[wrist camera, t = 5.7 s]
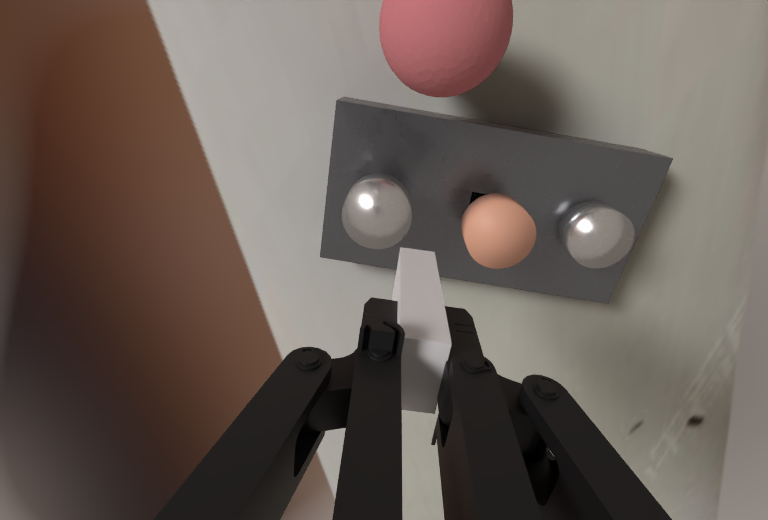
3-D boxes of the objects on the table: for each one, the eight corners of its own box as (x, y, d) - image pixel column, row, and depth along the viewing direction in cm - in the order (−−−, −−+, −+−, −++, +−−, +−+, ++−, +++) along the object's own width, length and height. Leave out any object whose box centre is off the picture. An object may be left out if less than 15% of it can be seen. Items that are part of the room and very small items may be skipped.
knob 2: (462, 176, 31) (475, 198, 25) (520, 186, 31) (545, 210, 25) (449, 231, 33) (458, 262, 27) (503, 240, 33) (524, 273, 27)
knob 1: (355, 158, 31) (346, 176, 25) (414, 168, 31) (417, 189, 25) (348, 214, 32) (338, 243, 27) (404, 223, 32) (404, 254, 27)
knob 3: (553, 184, 34) (582, 205, 28) (605, 193, 34) (645, 216, 28) (536, 233, 36) (561, 263, 30) (586, 242, 36) (619, 272, 30)
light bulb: (501, 49, 30) (557, 36, 19) (420, 110, 32) (431, 130, 21) (447, -45, 28) (477, -119, 17) (365, 27, 30) (344, 2, 19)
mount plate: (343, 96, 32) (336, 100, 28) (642, 149, 33) (673, 158, 29) (327, 238, 37) (319, 257, 33) (588, 281, 38) (608, 303, 34)
